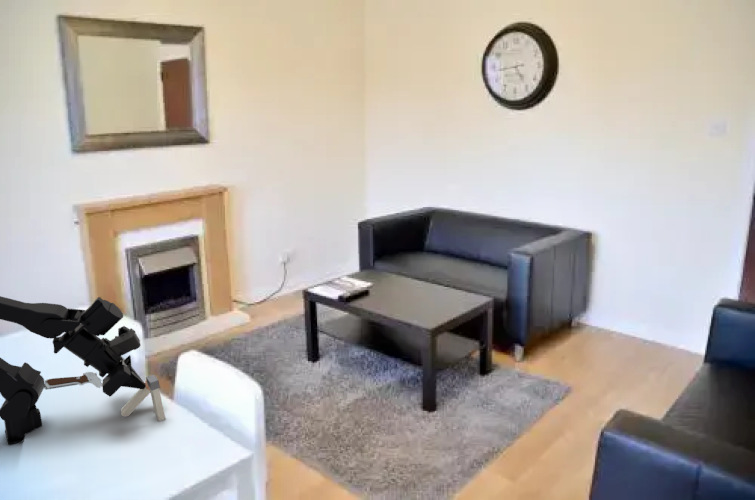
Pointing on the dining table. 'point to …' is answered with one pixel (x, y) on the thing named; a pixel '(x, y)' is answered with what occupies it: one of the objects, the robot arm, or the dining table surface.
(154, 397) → the lever
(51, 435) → the dining table surface
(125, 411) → the lever
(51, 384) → the handgun
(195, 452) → the dining table surface
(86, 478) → the dining table surface
